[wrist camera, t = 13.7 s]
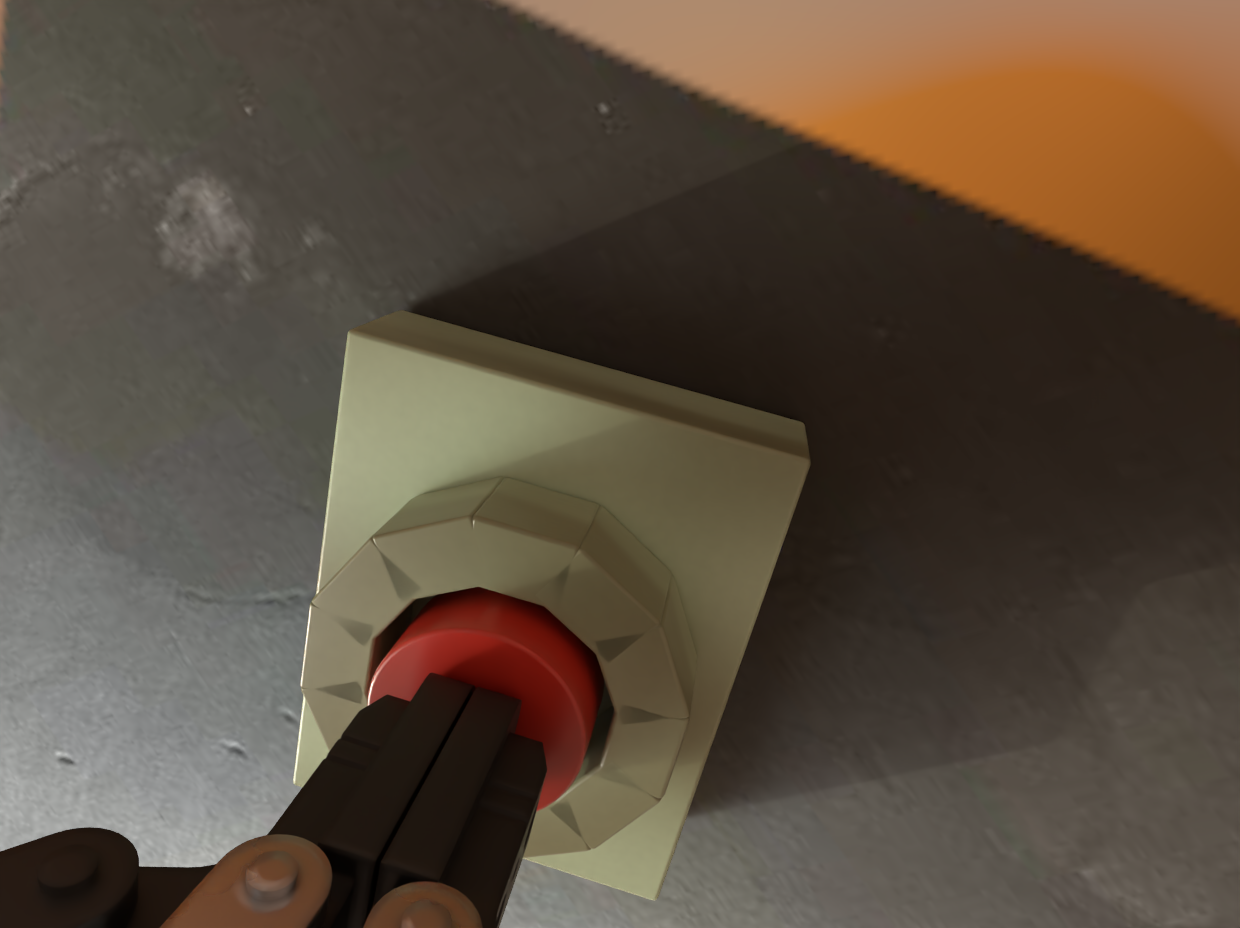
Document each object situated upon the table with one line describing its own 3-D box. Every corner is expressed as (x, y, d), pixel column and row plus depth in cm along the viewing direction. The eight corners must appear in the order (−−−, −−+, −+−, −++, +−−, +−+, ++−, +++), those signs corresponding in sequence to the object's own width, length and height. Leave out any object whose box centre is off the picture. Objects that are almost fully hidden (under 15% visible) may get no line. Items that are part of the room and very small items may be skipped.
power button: (424, 551, 14) (381, 601, 13) (627, 611, 14) (609, 670, 12) (395, 718, 15) (352, 782, 14) (580, 776, 15) (558, 848, 14)
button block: (399, 307, 16) (289, 350, 12) (806, 421, 15) (820, 503, 12) (340, 721, 20) (240, 851, 16) (668, 824, 19) (645, 984, 15)
